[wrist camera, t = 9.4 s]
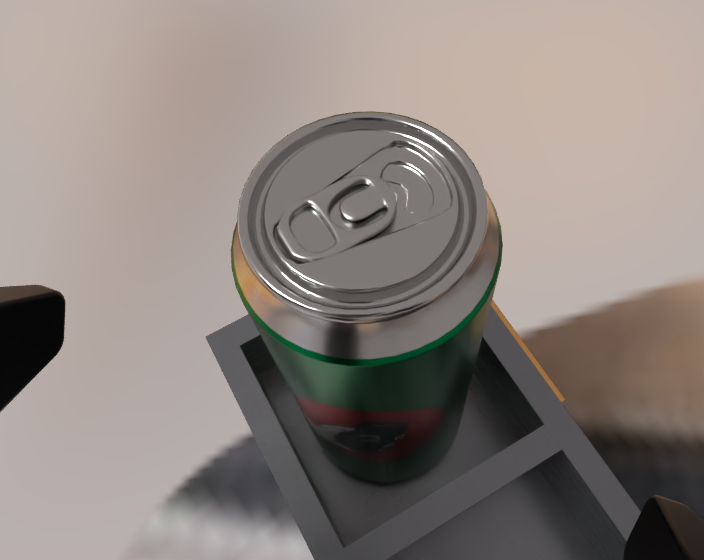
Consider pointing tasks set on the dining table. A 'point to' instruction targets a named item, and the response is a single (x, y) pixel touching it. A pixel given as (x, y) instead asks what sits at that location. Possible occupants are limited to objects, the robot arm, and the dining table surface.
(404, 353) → the soda can
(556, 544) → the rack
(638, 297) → the dining table surface
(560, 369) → the dining table surface
